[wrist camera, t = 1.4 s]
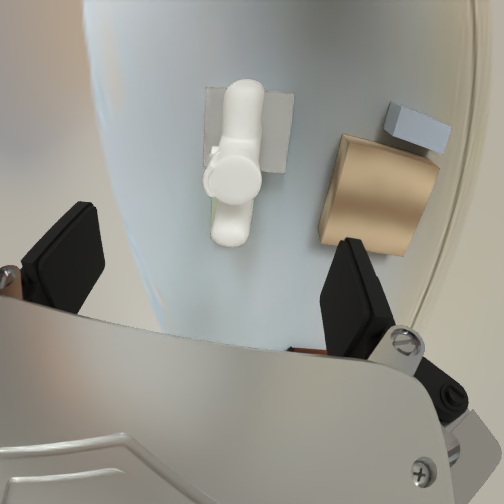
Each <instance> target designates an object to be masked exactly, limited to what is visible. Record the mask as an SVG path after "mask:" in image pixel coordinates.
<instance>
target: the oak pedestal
mask: <svg viewBox="0 0 504 504" xmlns="http://www.w3.org/2000/svg"><path fill="white" fill-rule="evenodd" d="M439 170H440V168H439V167H438V166H436V165H435V164H434V163H433V162H432V161H430V160H429V159H428V158H426V157H423V156H420V155H417V154H414V153H410V152H407V151H404V150H401V149H397V148H394V147H390V146H387V145H383V144H380V143H376V142H373V141H369V140H365V139H361V138H357V137H353V136H349V135H345V134H343V135H342V139H341V143H340V147H339V151H338V155H337V159H336V163H335V167H334V171H333V175H332V178H331V182H330V186H329V190H328V193H327V197H326V201H325V204H324V208H323V212H322V215H321V219H320V222H319V226H318V232H319V236H320V241H321V244H327V245H334V246H338V244H339V242H340V240H344V239H345V238H346V237H350V238H356V239H361V240H362V242H363V245H364V247H365V249H366V251H371V252H377V253H384V254H390V255H396V256H402V257H403V256H404V254H405V252H406V250H407V248H408V246H409V243H410V241H411V239H412V237H413V235H414V232H415V230H416V228H417V226H418V223H419V221H420V219H421V216H422V214H423V211H424V209H425V206H426V204H427V202H428V199H429V196H430V194H431V191H432V189H433V186H434V183H435V181H436V178H437V175H438V172H439Z"/></svg>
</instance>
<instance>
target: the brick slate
mask: <svg viewBox="0 0 504 504" xmlns="http://www.w3.org/2000/svg"><path fill="white" fill-rule="evenodd" d="M383 129H384V130H385V131H387V132H388V133H389V134H391V135H392V136H394V137H397V138H400V139H403V140H406V141H408V142H411V143H414V144H417V145H419V146H422V147H425V148H427V149H430V150H432V151H435V152H437V153H440V154H442V155H443V153H444V150H445V147H446V145H447V142H448V139H449V136H450V133H451V130H452V128H451V127H450V126H448V125H446V124H444V123H442V122H440V121H438V120H436V119H433V118H431V117H429V116H426V115H424V114H422V113H419V112H417V111H414V110H412V109H409V108H407V107H404V106H402V105H399V104H396V103H393V102H390V106H389V110H388V113H387V117H386V120H385V123H384V127H383Z"/></svg>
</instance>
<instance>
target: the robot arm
mask: <svg viewBox="0 0 504 504" xmlns="http://www.w3.org/2000/svg"><path fill="white" fill-rule="evenodd" d="M21 263H22V266H23V267H22V268H21V269H19V268H18V267H17V266H14V265H7V266H3V267H1V268H0V504H468V503H469V501H470V500H471V499H472V498H473V497H474V496H475V494H476V493H477V492H478V491H479V489H480V488H481V487H482V486H483V484H484V483H485V482H486V480H487V479H488V478H489V476H490V475H491V474H492V472H493V471H494V470H495V468H496V466H497V465H498V464H499V462H500V460H501V454H502V452H501V447H500V445H499V443H498V441H497V440H496V439H495V437H494V436H493V435H492V434H491V432H490V431H489V429H488V428H487V427H486V425H485V424H484V423H483V421H482V420H481V419H480V417H479V416H478V415H477V414H476V412H475V411H474V410H473V409H472V410H471V411H469V410H468V408H467V407H468V396H467V393H466V391H465V390H464V388H463V387H462V386H461V385H460V384H459V383H458V382H456V381H455V380H454V379H452V378H451V377H450V376H448V375H447V374H446V373H445V372H443V371H442V370H440V369H439V368H438V367H437V366H435V365H434V364H433V363H431V362H430V361H429V360H427V359H426V358H425V357H423V355H424V351H425V345H424V342H423V339H422V338H421V336H420V335H419V334H418V333H417V332H416V331H415V330H413V329H411V328H409V327H408V326H404V325H396V324H395V321H394V318H393V315H392V313H391V310H390V307H389V304H388V302H387V299H386V296H385V294H384V291H383V288H382V286H381V283H380V281H379V279H378V277H377V276H376V274H375V271H374V269H373V266H372V264H371V261H370V259H369V257H368V254H367V252H366V249H365V247H364V245H363V242H362V240H361V239H356V238H350V237H346V238H345V239H344V240H340V242H339V244H338V247H337V250H336V253H335V255H334V258H333V261H332V264H331V267H330V270H329V272H328V275H327V278H326V281H325V284H324V286H323V289H322V292H321V295H320V307H321V314H322V320H323V327H324V334H325V342H326V349H327V355H319V354H307V353H296V352H287V351H278V350H269V349H260V348H252V347H244V346H237V345H230V344H223V343H216V342H210V341H203V340H197V339H191V338H185V337H180V336H174V335H169V334H163V333H158V332H153V331H148V330H143V329H138V328H133V327H129V326H124V325H119V324H115V323H111V322H106V321H102V320H97V319H93V318H89V317H85V316H81V315H78V314H77V313H78V312H79V310H80V308H81V306H82V305H83V303H84V301H85V300H86V298H87V296H88V295H89V293H90V291H91V290H92V288H93V286H94V285H95V283H96V282H97V280H98V278H99V277H100V275H101V273H102V272H103V270H104V268H105V259H104V253H103V247H102V241H101V235H100V230H99V222H98V215H97V209H96V207H94V206H93V204H92V203H91V202H81V201H79V202H77V203H76V204H75V205H74V206H73V207H72V208H71V209H70V210H69V211H67V212H66V213H65V214H64V215H63V216H62V217H61V218H60V219H59V220H58V221H57V222H56V223H55V224H54V225H53V226H52V228H50V230H49V231H47V233H46V234H45V235H44V236H43V237H42V238H41V239H40V240H39V241H38V242H37V243H36V244H35V245H34V246H33V248H32V249H31V250H30V251H29V252H28V253H27V254H26V255H25V256H24V257H23V259H22V260H21Z"/></svg>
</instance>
